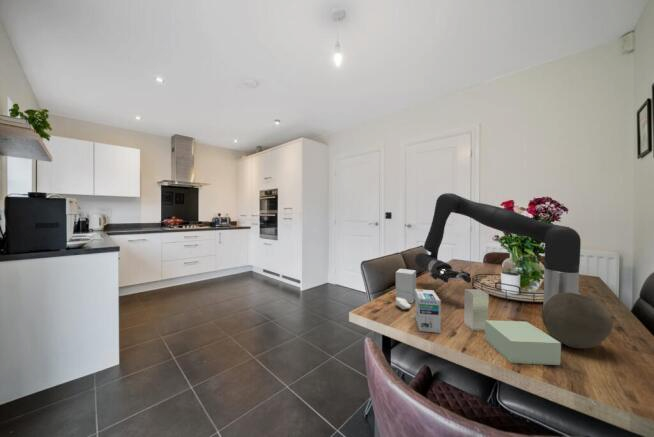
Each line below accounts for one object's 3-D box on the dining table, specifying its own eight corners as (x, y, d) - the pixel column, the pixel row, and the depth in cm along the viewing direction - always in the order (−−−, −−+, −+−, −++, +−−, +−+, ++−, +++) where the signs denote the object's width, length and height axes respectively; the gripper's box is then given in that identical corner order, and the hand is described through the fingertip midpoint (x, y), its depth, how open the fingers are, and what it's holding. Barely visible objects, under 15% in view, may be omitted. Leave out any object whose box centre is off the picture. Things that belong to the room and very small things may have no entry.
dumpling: (392, 305, 102) (392, 296, 101) (404, 304, 103) (404, 295, 103) (402, 312, 95) (402, 302, 95) (414, 311, 96) (414, 301, 96)
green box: (526, 341, 75) (526, 321, 75) (560, 366, 63) (561, 343, 63) (484, 339, 76) (485, 320, 76) (510, 363, 64) (511, 341, 64)
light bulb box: (441, 333, 79) (441, 300, 78) (419, 331, 80) (419, 298, 80) (433, 319, 89) (434, 289, 89) (414, 317, 91) (414, 288, 90)
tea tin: (478, 323, 86) (479, 289, 85) (487, 330, 81) (488, 294, 80) (464, 323, 86) (464, 289, 86) (472, 330, 81) (473, 294, 81)
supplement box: (416, 298, 110) (416, 270, 109) (412, 303, 104) (412, 274, 103) (399, 295, 114) (400, 268, 113) (394, 300, 108) (395, 271, 107)
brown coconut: (596, 365, 63) (598, 307, 62) (531, 338, 76) (533, 290, 75) (620, 352, 68) (623, 299, 68) (556, 329, 81) (558, 284, 81)
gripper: (424, 260, 110) (440, 270, 94) (456, 261, 110) (477, 270, 94) (423, 277, 111) (439, 289, 95) (455, 277, 111) (476, 290, 94)
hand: (458, 280), depth 94 cm, fingers open, 8 cm apart
